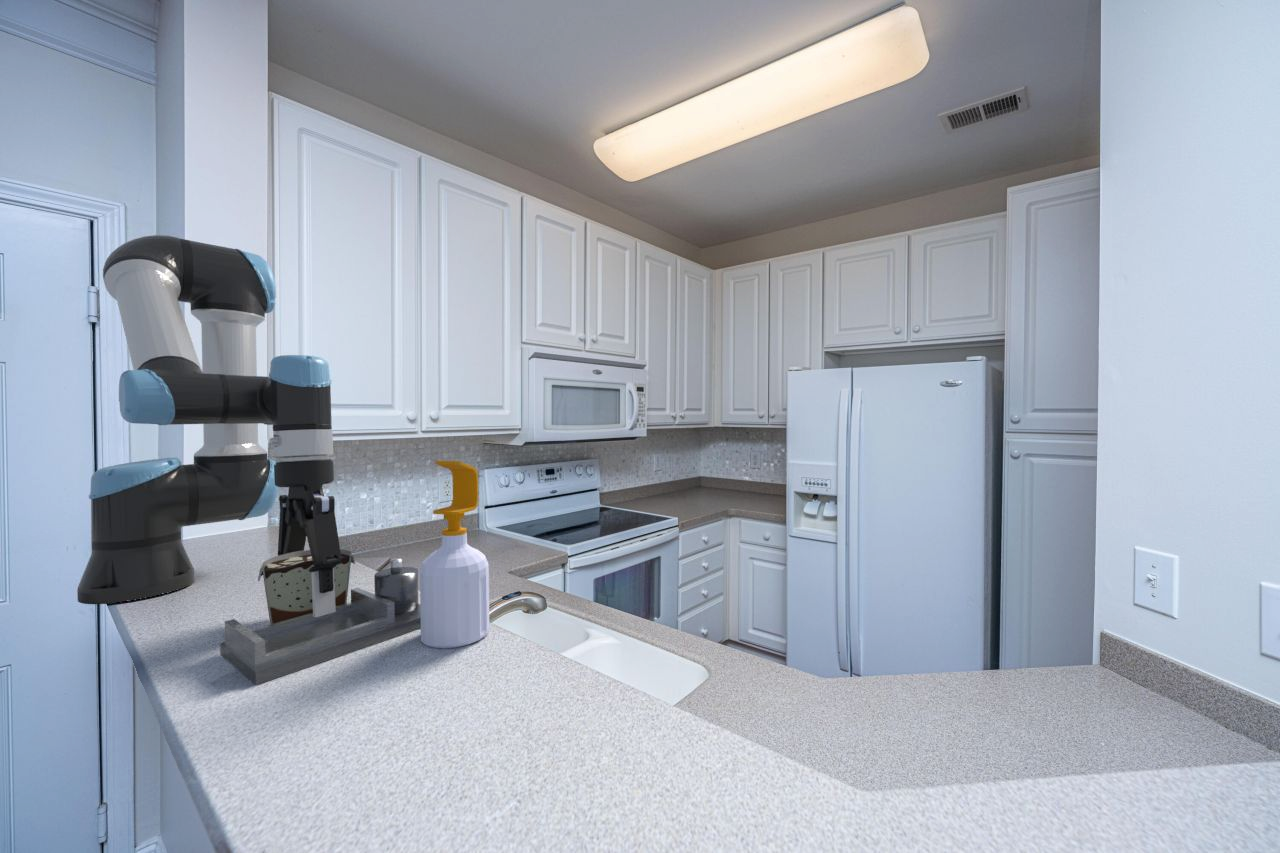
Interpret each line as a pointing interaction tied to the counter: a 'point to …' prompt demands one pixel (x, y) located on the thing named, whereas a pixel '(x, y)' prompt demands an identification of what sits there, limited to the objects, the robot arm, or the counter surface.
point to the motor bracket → (327, 629)
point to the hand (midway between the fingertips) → (310, 608)
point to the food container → (299, 584)
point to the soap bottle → (455, 573)
